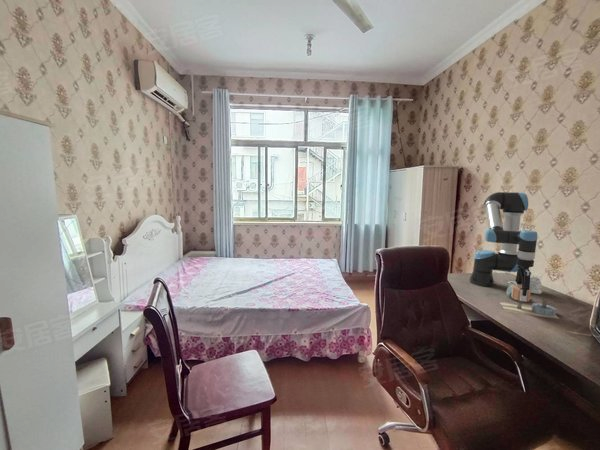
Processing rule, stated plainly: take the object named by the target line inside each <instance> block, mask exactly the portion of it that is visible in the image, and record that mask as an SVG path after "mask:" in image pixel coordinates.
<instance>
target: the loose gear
mask: <svg viewBox="0 0 600 450" xmlns="http://www.w3.org/2000/svg"><path fill="white" fill-rule="evenodd" d="M520 288H522V286H513V287H512V295H511V297H512V298H514V299H516V300H520V294H521V289H520ZM531 294H532V293H531V289H530V290H528V291H527V299H526V302H530V300H531Z"/></svg>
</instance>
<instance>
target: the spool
mask: <svg viewBox="0 0 600 450" xmlns="http://www.w3.org/2000/svg"><path fill="white" fill-rule="evenodd" d="M516 285H517V284H510V285H509V286H508V287H507V289H506V295H507V297H508V298H510V300H513V301H515V302H518V300H516V299H514V298H512V297H511V295H512V287H513V286H516Z"/></svg>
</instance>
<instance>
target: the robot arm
mask: <svg viewBox="0 0 600 450" xmlns="http://www.w3.org/2000/svg"><path fill="white" fill-rule="evenodd" d="M528 208H529V198H528V195H527V194H526V193H524V192H517V191H516V192H509V191H505V192H502V191H497V192H494V193H491V194H490V195H489V196H488V197H486V198H485V201H483V209H484V211H485V213H486V220H487V227H488V229H486V230H485V233H484V234H485V236H484V240H485V241H486V242H487V243H495V244H501V248H500V249H499V250H498V252H497V253H496V252H495V251H494V250H486V249H485V250H483V249H482V250H477V251H476V252H475V253H474V258H473V259H474V261H473V269H472V272H471V275H470V277H469V280H468V281H469V282H470V283H471V284H473V285H475V286H480V287H481V286H482V287H494V286H495V278H494V276H493V272H494V271H498V272H500V271H501V272H507V273H516V277H515V282H516V284H515V285H516V286H522V288H520V289H521V294H520V301H522V302H527V301H526V299H527V291H528V290H530V278H531V276H532V275H531V274H532V272H531V271H530V268H533V267H534V266H535V265H534V264H535V258H536V257H535V256H536V250H537V242H538V239H539V238H538V231H534V230H529V229H527V230H525V229H523V230H520V224H521V217H522V215H523V214H524V213H525V211H528ZM501 211H502V213H501ZM502 214H503V215H504V222H503V220H502V219H503V218H502ZM517 249H518V250H517Z"/></svg>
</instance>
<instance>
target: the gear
mask: <svg viewBox="0 0 600 450" xmlns="http://www.w3.org/2000/svg"><path fill="white" fill-rule="evenodd" d="M531 306H532V307H531V310H532V311H534V312H535V313H537V314H541V315H544V316H555V315H556V314H557V308H556V307H553V306H552V305H549V304H547V305H546V308H544V307H542V303H538V302H537V303H532V304H531ZM556 316H557V315H556Z"/></svg>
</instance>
